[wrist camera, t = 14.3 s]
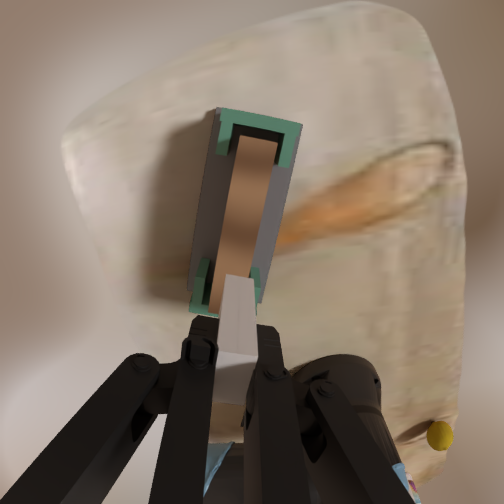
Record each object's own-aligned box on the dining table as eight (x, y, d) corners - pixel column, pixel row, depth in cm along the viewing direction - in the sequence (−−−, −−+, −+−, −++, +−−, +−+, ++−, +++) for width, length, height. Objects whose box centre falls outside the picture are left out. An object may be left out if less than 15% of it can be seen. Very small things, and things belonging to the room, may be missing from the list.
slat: (240, 280, 37) (239, 317, 30) (214, 275, 37) (207, 312, 29) (270, 140, 32) (277, 143, 24) (241, 134, 31) (240, 135, 24)
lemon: (438, 410, 50) (453, 438, 43) (447, 417, 52) (461, 443, 44) (417, 427, 52) (430, 455, 44) (427, 433, 53) (440, 459, 46)
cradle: (260, 298, 39) (263, 326, 34) (188, 285, 39) (179, 312, 33) (300, 124, 32) (312, 123, 26) (217, 108, 31) (211, 102, 26)
